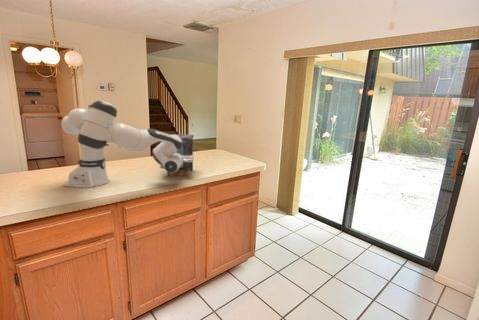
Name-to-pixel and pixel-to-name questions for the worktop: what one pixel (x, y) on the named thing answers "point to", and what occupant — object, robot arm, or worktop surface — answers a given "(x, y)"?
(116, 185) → the worktop surface
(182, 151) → the peg
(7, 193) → the worktop surface
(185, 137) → the dark grey upright block
